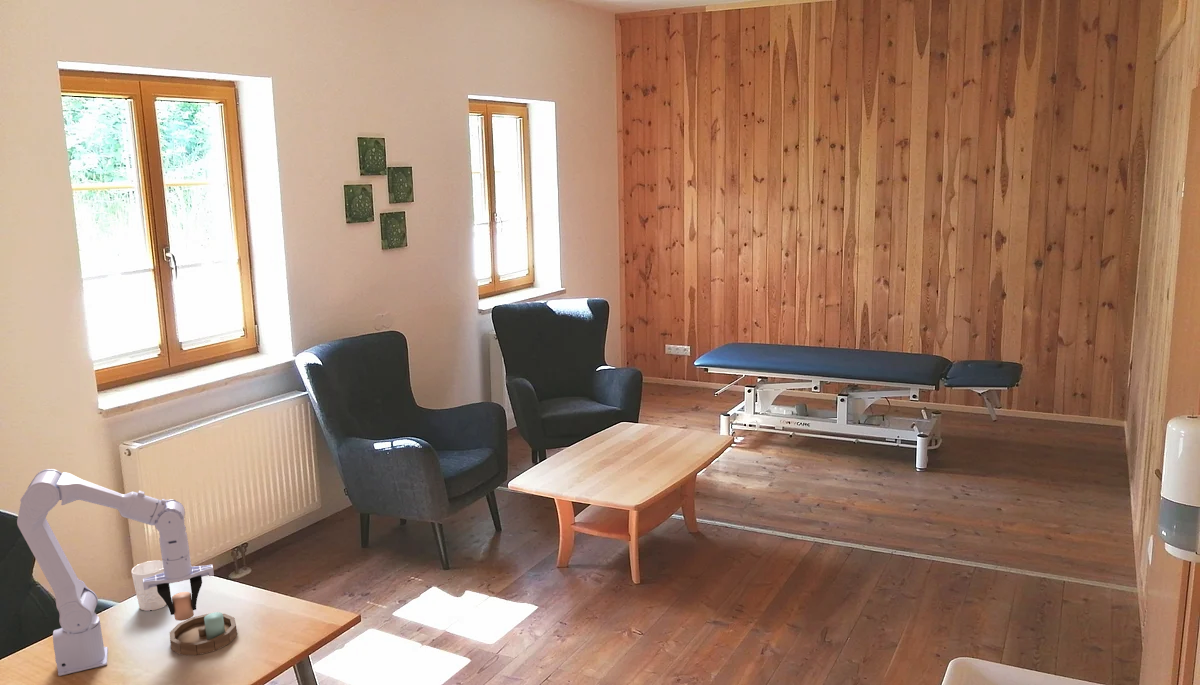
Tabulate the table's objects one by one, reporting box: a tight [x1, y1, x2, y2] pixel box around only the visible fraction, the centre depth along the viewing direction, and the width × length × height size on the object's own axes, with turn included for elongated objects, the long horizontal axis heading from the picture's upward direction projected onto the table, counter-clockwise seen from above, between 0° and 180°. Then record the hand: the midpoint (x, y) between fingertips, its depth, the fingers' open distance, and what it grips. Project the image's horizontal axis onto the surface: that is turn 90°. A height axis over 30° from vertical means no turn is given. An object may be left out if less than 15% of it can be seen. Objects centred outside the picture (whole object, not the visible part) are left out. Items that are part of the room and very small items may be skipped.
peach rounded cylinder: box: [171, 591, 195, 622], centre depth 218 cm, size 4×4×5 cm
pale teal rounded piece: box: [204, 611, 225, 640], centre depth 219 cm, size 4×4×5 cm
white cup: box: [131, 559, 167, 612], centre depth 237 cm, size 8×8×10 cm
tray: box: [169, 613, 238, 656], centre depth 221 cm, size 14×14×2 cm
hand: (183, 610), depth 218 cm, fingers closed on peach rounded cylinder, 4 cm apart
